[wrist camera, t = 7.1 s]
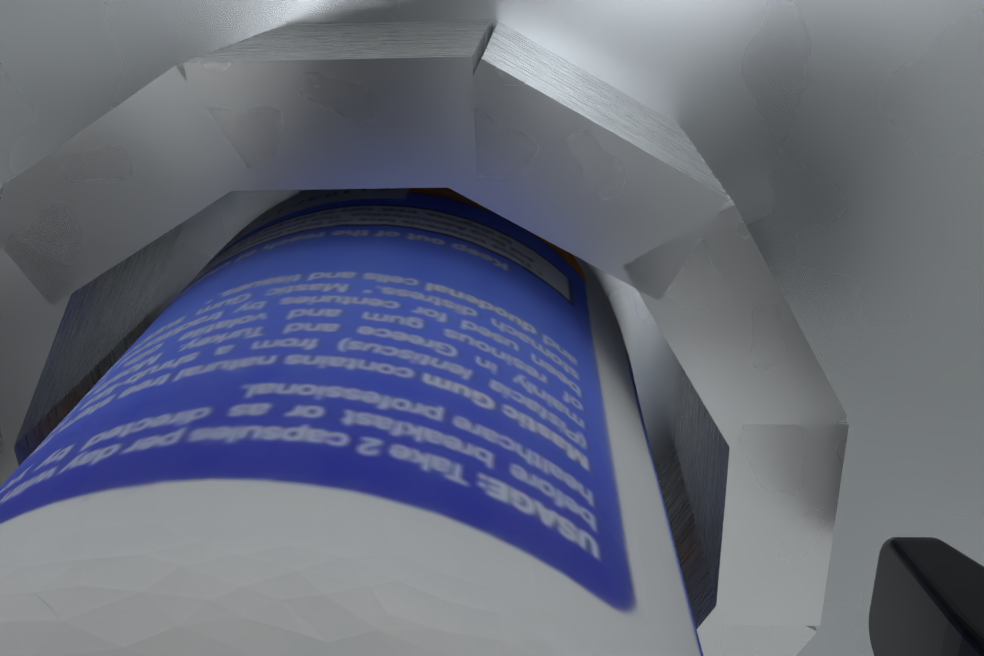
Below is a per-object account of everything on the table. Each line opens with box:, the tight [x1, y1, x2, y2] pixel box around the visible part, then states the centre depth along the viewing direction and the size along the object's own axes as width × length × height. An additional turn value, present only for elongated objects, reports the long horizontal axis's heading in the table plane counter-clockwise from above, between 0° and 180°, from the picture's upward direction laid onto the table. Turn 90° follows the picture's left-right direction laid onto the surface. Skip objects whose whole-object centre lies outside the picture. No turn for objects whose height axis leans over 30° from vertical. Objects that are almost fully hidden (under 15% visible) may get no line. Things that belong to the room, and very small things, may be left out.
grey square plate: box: [0, 0, 984, 656], centre depth 11 cm, size 18×14×4 cm
